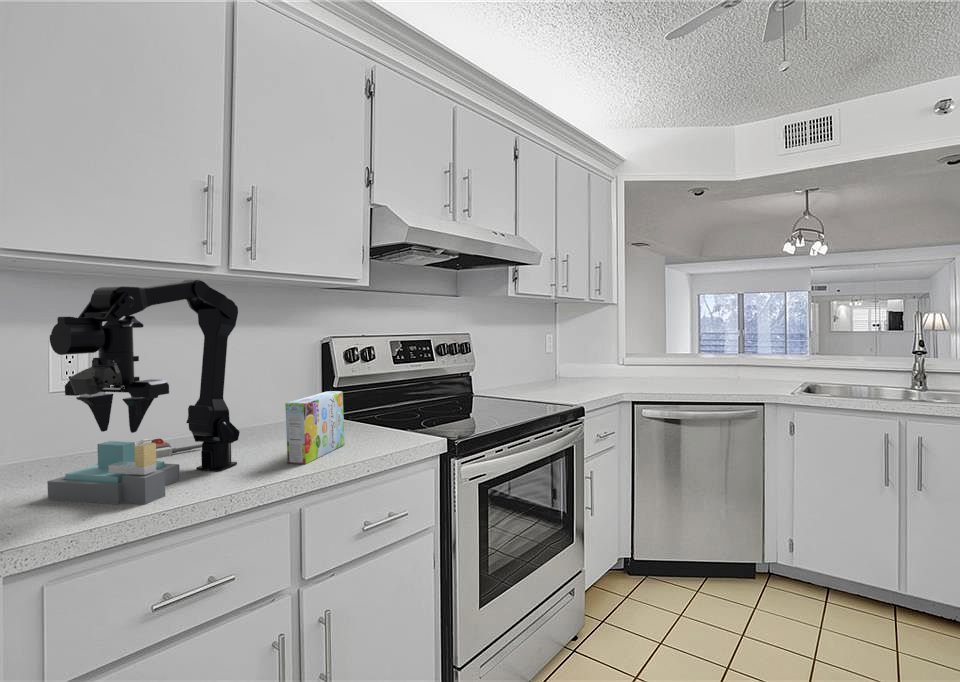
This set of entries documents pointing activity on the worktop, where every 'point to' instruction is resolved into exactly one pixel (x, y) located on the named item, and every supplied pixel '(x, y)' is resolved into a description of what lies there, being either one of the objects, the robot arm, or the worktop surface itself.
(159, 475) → the tray
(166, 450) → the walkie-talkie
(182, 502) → the worktop surface
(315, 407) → the snack box
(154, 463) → the white yellow l-shaped block
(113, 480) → the cover
